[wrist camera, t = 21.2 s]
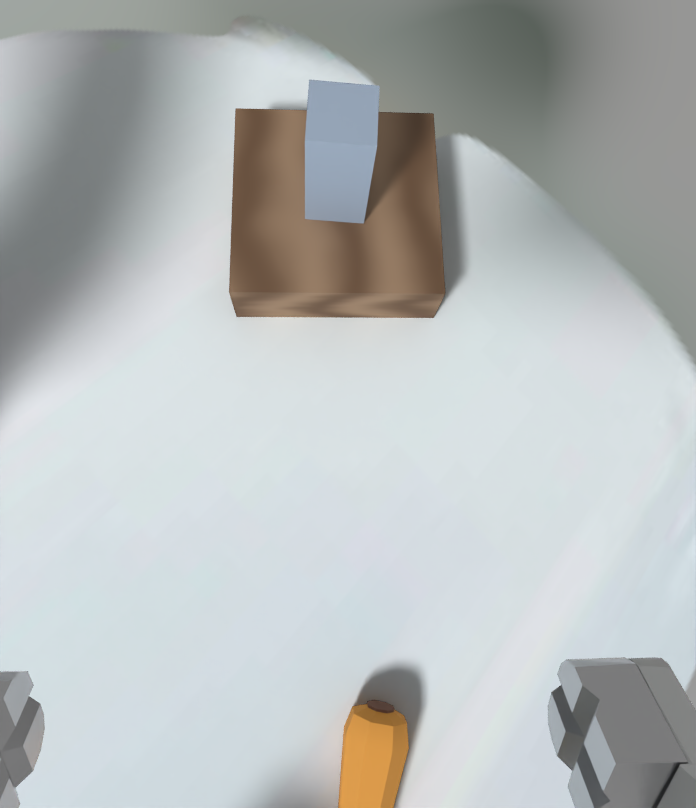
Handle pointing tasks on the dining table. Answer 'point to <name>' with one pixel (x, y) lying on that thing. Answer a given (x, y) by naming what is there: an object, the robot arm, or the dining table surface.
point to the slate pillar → (339, 150)
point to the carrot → (372, 756)
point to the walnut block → (334, 226)
